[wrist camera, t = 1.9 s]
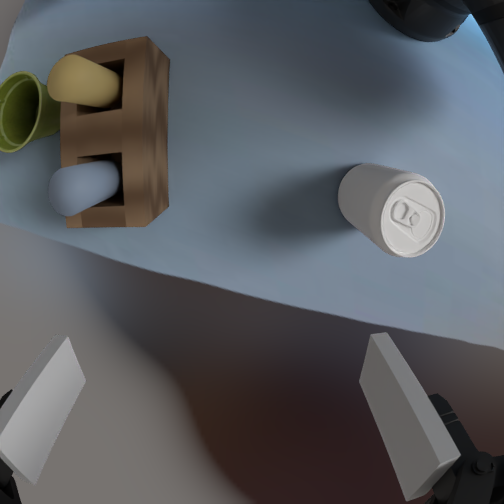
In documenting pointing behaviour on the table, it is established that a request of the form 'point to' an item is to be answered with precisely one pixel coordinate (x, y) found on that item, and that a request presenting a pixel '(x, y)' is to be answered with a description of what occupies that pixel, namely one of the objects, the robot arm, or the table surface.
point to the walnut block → (123, 135)
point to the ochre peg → (84, 83)
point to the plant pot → (26, 111)
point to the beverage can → (392, 208)
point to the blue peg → (84, 185)
